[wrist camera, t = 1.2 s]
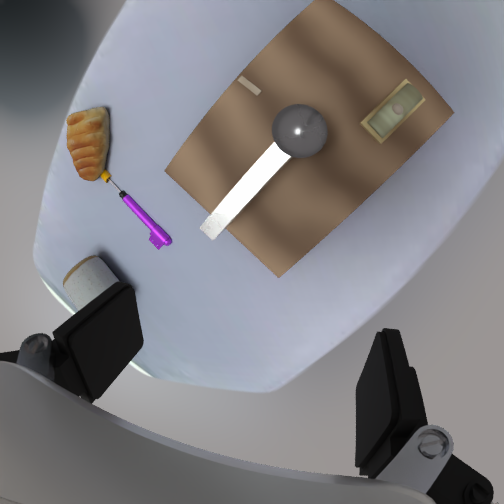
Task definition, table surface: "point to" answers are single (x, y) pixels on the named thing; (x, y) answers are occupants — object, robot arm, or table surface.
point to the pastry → (89, 141)
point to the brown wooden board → (338, 125)
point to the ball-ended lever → (271, 162)
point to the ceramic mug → (88, 280)
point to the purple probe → (142, 217)
